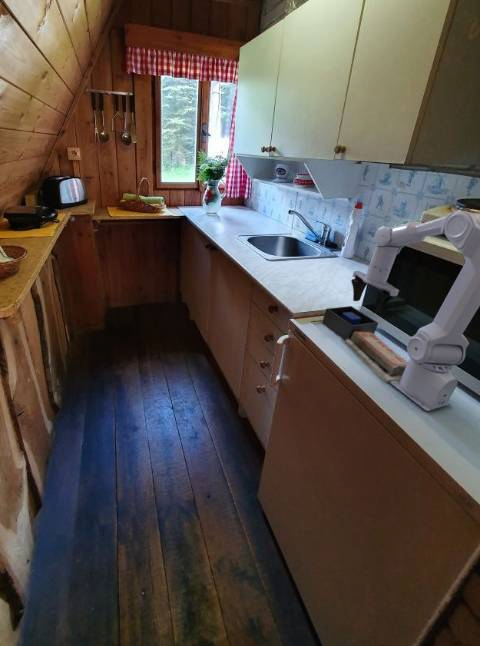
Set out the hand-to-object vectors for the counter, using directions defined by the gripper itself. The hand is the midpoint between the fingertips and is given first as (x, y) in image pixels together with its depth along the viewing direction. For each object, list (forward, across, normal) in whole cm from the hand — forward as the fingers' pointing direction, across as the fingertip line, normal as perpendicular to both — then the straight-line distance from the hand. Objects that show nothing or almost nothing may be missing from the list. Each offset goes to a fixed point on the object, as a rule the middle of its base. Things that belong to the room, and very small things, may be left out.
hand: (365, 306), depth 97 cm
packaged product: (+10, +13, -7) cm, 18 cm away
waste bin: (+9, -1, -3) cm, 10 cm away
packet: (+9, -1, -3) cm, 9 cm away
